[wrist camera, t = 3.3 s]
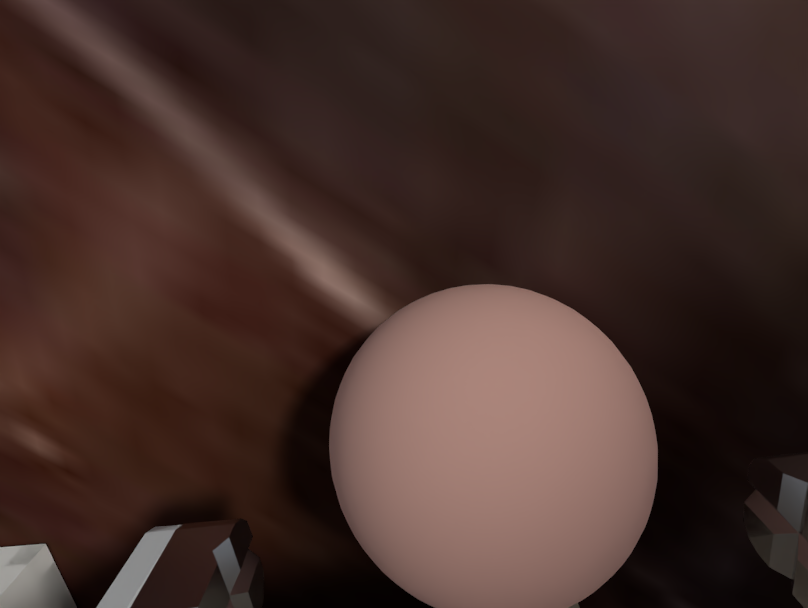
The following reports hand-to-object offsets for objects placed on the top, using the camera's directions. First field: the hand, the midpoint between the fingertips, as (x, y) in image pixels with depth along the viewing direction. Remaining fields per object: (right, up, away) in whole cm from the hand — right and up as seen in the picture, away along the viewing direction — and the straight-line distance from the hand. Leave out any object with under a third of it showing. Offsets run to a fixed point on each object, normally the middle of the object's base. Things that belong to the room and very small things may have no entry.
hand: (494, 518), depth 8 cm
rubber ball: (0, +2, +2) cm, 3 cm away
